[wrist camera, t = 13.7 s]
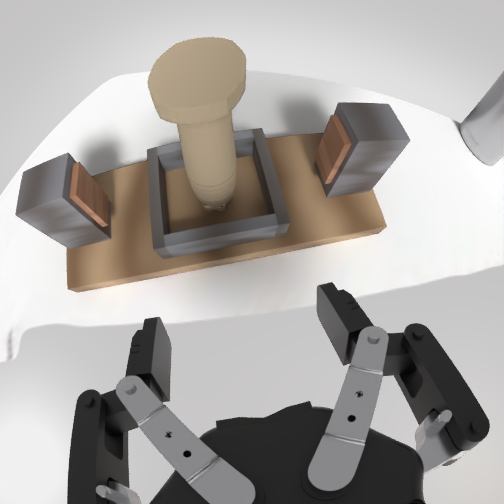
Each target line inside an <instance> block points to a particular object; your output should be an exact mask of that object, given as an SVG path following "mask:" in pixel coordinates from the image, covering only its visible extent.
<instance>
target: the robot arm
mask: <svg viewBox="0 0 504 504" xmlns="http://www.w3.org/2000/svg"><path fill="white" fill-rule="evenodd" d="M460 131H461V134H462V137H463V139H464V141H465V143H466V144H467V146H468V147H469V149H470V150H471V151H472V152H473V154H474V155H475V156H476V157H477V158H478V159H479V160H481V161H482V162H483V163H485V164H487V165H494V164H495V163H496V162H497V161H499V160H500V159H501V158H502V157H503V156H504V71H503V73H502V74H501V75H500V77H499V78H498V79H497V81H496V82H495V83H494V84H493V86H492V87H491V88H490V90H489V91H488V92H487V93H486V95H485V96H484V97H483V98H482V100H481V101H480V102H479V103H478V104H477V106H476V107H475V108H474V109H473V110H472V111H471V113H470V114H469V115H468V116H467V117H466V119H465V120H464V121H463V122H462V123H461V125H460ZM317 314H318V317H319V320H320V322H321V324H322V326H323V328H324V329H325V331H326V333H327V335H328V337H329V339H330V341H331V343H332V345H333V347H334V348H335V350H336V352H337V354H338V356H339V358H340V360H341V362H342V364H343V365H347V364H351V365H350V366H349V368H348V372H347V374H346V378H345V381H344V383H343V386H342V389H341V392H340V395H339V397H338V400H337V403H336V406H335V408H334V410H333V409H330V408H325V407H312V405H311V403H310V401H308V402H305V403H301V404H297V405H294V406H290V407H286V408H284V409H282V410H280V411H278V412H276V413H274V414H272V415H270V416H267V417H265V418H247V417H238V418H232V419H225V420H220V421H216V426H217V427H216V428H213V429H211V430H209V431H207V432H206V433H204V434H203V435H202V436H201V437H200V438H198V437H197V436H196V435H195V434H193V433H192V432H191V431H190V430H189V429H188V428H187V427H186V426H185V425H184V424H183V423H182V422H181V421H180V420H179V419H178V418H177V417H176V416H175V415H174V414H173V413H172V412H171V411H170V409H169V408H168V407H166V405H163V402H166V401H170V369H171V343H170V339H169V336H168V334H167V332H166V330H165V327H164V325H163V323H162V321H161V319H160V317H155V318H149V319H145V320H144V326H143V330H138V331H137V332H136V333H135V335H134V336H133V338H132V343H131V348H130V354H129V359H128V364H127V370H126V376H125V378H123V379H122V380H120V382H119V383H118V384H117V386H116V389H115V390H113V391H110V392H107V393H105V394H102V395H100V394H99V392H98V391H96V390H87V391H85V392H83V393H82V394H81V395H80V396H79V397H78V400H77V404H76V410H75V416H74V423H73V430H72V438H71V447H70V457H69V471H68V496H67V498H68V500H67V504H141V501H140V498H139V496H138V495H137V493H136V492H134V491H133V490H131V489H129V468H128V431H129V430H132V429H135V428H138V427H140V429H141V430H142V431H143V432H144V434H145V435H146V436H147V438H148V439H149V440H150V441H151V442H152V444H153V445H154V446H155V447H156V448H157V449H158V451H159V452H160V453H161V454H162V455H163V456H164V457H165V458H166V460H167V461H168V462H169V463H170V464H171V465H172V466H173V467H174V468H175V469H176V470H175V471H174V473H173V474H172V475H171V476H170V478H169V479H168V480H167V482H166V483H165V484H164V486H163V487H162V488H161V490H160V491H159V492H158V494H157V495H156V496H155V497H154V499H153V500H152V501H151V502H150V504H426V503H425V501H424V497H423V476H424V475H425V474H426V473H428V472H430V471H432V470H434V469H436V468H437V467H439V466H441V465H443V466H448V465H451V464H452V463H454V462H455V461H457V460H458V459H459V458H461V457H462V456H463V455H464V454H466V453H467V452H468V451H469V450H471V449H472V448H473V447H475V446H476V445H477V444H478V443H479V442H481V441H482V440H483V439H484V438H485V437H486V436H487V434H488V432H489V428H490V424H489V420H488V418H487V417H486V414H485V413H484V411H483V409H482V408H481V406H480V404H479V403H478V401H477V399H476V398H475V396H474V395H473V393H472V391H471V390H470V388H469V387H468V385H467V383H466V382H465V380H464V379H463V377H462V376H461V374H460V373H459V371H458V370H457V368H456V367H455V366H454V364H453V363H452V361H451V359H450V358H449V357H448V355H447V354H446V352H445V351H444V349H443V348H442V347H441V345H440V344H439V343H438V341H437V340H436V338H435V337H434V336H433V334H432V333H431V332H430V330H429V329H428V328H427V327H426V326H424V325H422V324H417V323H415V324H410V325H409V326H407V327H406V329H405V331H404V333H387V332H386V331H385V330H383V329H382V328H380V327H376V326H374V325H373V324H372V323H371V321H370V320H369V318H368V317H367V316H366V314H365V313H364V311H363V310H362V309H361V308H360V306H359V305H358V303H357V302H356V300H355V299H354V298H353V296H352V295H351V294H350V293H348V292H347V291H345V290H339V291H338V290H337V288H336V287H335V285H334V284H333V283H332V282H331V283H327V284H322V285H318V286H317ZM390 375H394V377H395V378H396V381H397V382H398V384H399V386H400V388H401V390H402V392H403V394H404V396H405V398H406V400H407V402H408V403H409V406H410V407H411V409H412V412H413V413H414V415H415V418H416V420H417V422H418V424H419V427H418V428H417V430H416V432H415V440H416V451H415V450H414V449H413V448H411V447H410V446H408V445H405V444H403V443H401V442H399V441H396V440H394V439H392V438H390V437H387V436H386V435H383V434H381V433H379V432H377V431H375V430H373V429H371V428H370V424H371V421H372V417H373V414H374V410H375V406H376V402H377V398H378V394H379V390H380V386H381V382H382V377H383V376H390Z"/></svg>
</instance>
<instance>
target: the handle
mask: <svg viewBox="0 0 504 504" xmlns="http://www.w3.org/2000/svg"><path fill="white" fill-rule="evenodd" d="M245 80H246V57H245V54H244V53H243V51H242V50H241V49H240V48H239V47H238V46H237V45H236V44H235V43H234V42H233V41H231V40H228V39H223V38H213V37H212V38H196V39H190V40H186V41H183V42H180V43H177V44H175V45H173V46H172V47H171V48H170V49H168V50H167V51H166V52H165V53H164V54H162V55H161V56H160V57H159V58H158V59H157V60H156V62H155V64H154V65H153V68H152V70H151V73H150V75H149V78H148V88H149V91H150V94H151V97H152V100H153V103H154V105H155V108H156V110H157V113H158V115H159V117H160V118H161V119H163V120H165V121H168V122H171V123H177V127H178V132H179V137H180V143H181V148H182V154H183V159H184V165H185V170H186V173H187V176H188V179H189V182H190V185H191V187H192V189H193V191H194V193H195V195H196V196H197V198H198V199H199V200H200V201H201V202H202V203H203V206H204V208H205V210H207V211H209V212H210V211H212V210H218V211H220V212H222V211H224V210H225V209H226V206H227V204H228V203H229V202H230V201H232V200H233V197H234V189H235V183H236V170H237V169H236V167H237V161H236V151H235V143H234V134H233V124H232V114H231V110H232V109H233V108H234V107H235V106H236V104H237V103H238V102H239V100H240V99H241V97H242V95H243V93H244V91H245Z"/></svg>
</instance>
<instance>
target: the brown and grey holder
mask: <svg viewBox="0 0 504 504" xmlns="http://www.w3.org/2000/svg"><path fill="white" fill-rule="evenodd" d="M233 134H234V143H235V151H236V161H237V167H236V169H237V170H236V183H235V189H234V197H233V200H232V201H230V202H229V203H228V204H227V206H226V209H225V210H224V211H222V212H220V211H218V210H212V211H210V212H209V211H207V210H205V208H204V206H203V203H202V202H201V201H200V200H199V199H198V198H197V196H196V195H195V193H194V191H193V189H192V187H191V185H190V182H189V179H188V176H187V173H186V170H185V165H184V159H183V154H182V148H181V143H180V142H177V143H172V144H168V145H163V146H159V147H155V148H151V149H147V161H144V162H140V163H136V164H133V165H129V166H125V167H122V168H118V169H115V170H111V171H108V172H105V173H101V174H98V175H95V176H92V177H91V176H90V174H89V173H88V172H87V171H86V170H85V168H84V167H83V166H82V165H81V163H80V162H79V163H77V162H76V161H75V160H74V159H73V157H72V156H71V155H70V154H69V153H66V154H63V155H61V156H58V157H56V158H54V159H51V160H49V161H46V162H44V163H42V164H40V165H37V166H35V167H33V168H31V169H29V170H26V171H24V172H23V176H22V180H21V185H20V190H19V196H18V202H17V208H16V216H18V217H19V218H21V219H22V220H24V221H25V222H27V223H28V224H30V225H31V226H33V227H34V228H36V229H38V230H39V231H41V232H42V233H44V234H46V235H47V236H49V237H50V238H52V239H54V240H55V241H57V242H59V243H60V244H62V245H64V246H65V247H67V285H68V289H69V290H72V291H75V292H83V291H88V290H94V289H99V288H104V287H110V286H115V285H120V284H126V283H131V282H136V281H141V280H147V279H152V278H157V277H162V276H168V275H173V274H178V273H183V272H188V271H194V270H199V269H204V268H209V267H214V266H219V265H224V264H229V263H234V262H240V261H245V260H250V259H255V258H260V257H265V256H270V255H275V254H280V253H285V252H290V251H295V250H300V249H305V248H310V247H315V246H320V245H325V244H329V243H334V242H339V241H344V240H349V239H354V238H359V237H364V236H369V235H373V234H378V233H380V232H381V231H382V230H383V229H385V228H386V227H387V226H386V223H385V220H384V217H383V215H382V212H381V209H380V207H379V204H378V201H377V199H376V196H375V194H374V191H373V189H372V188H373V187H374V186H375V185H376V183H377V182H378V181H379V180H380V178H381V177H382V176H383V175H384V173H385V172H386V171H387V170H388V168H389V167H390V166H391V165H392V163H393V162H394V161H395V160H396V158H397V157H398V156H399V155H400V153H401V152H402V151H403V149H404V148H405V147H406V145H407V144H408V143H409V142H410V139H409V137H408V135H407V133H406V132H405V130H404V128H403V126H402V125H401V123H400V121H399V120H398V118H397V116H396V115H395V113H394V112H393V110H392V108H391V107H390V105H389V104H378V103H338V105H337V107H336V110H335V113H334V115H331V116H330V119H329V121H328V124H327V127H326V129H325V132H324V133H317V134H304V135H293V136H283V137H274V138H266V139H265V136H264V133H263V130H262V128H259V129H251V130H244V131H237V132H233Z"/></svg>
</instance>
